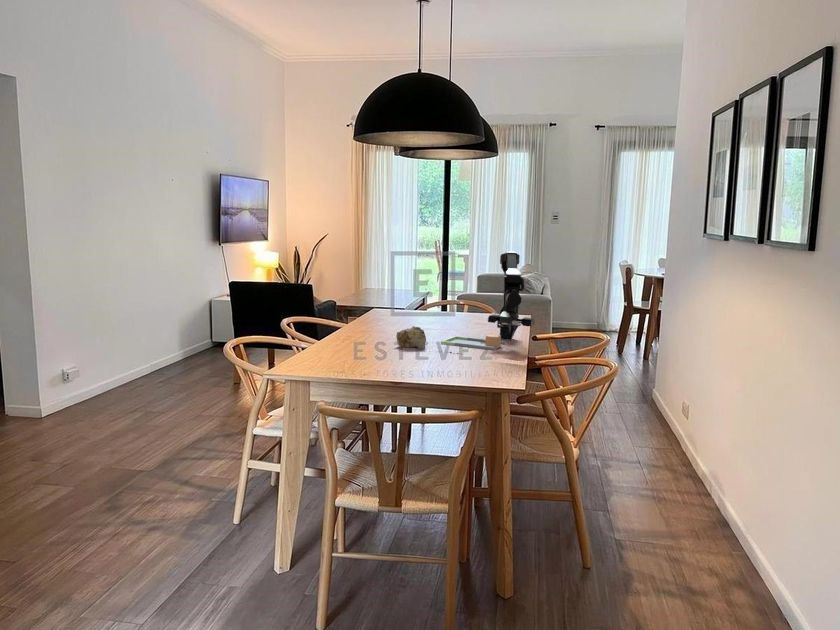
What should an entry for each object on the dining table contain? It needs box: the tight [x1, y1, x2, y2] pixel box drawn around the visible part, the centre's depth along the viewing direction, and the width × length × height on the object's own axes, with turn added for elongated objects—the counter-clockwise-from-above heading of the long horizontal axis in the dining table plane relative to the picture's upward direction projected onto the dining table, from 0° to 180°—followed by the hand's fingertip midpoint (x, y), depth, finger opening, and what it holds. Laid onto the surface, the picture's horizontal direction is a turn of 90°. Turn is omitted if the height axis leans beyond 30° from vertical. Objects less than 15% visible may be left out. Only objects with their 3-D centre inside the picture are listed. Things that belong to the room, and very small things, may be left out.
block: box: [484, 333, 502, 349], centre depth 266 cm, size 5×5×4 cm
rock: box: [396, 325, 427, 350], centre depth 269 cm, size 12×7×10 cm, turn 72°
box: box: [440, 335, 506, 351], centre depth 271 cm, size 15×24×3 cm, turn 63°
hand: (510, 340), depth 263 cm, fingers closed
